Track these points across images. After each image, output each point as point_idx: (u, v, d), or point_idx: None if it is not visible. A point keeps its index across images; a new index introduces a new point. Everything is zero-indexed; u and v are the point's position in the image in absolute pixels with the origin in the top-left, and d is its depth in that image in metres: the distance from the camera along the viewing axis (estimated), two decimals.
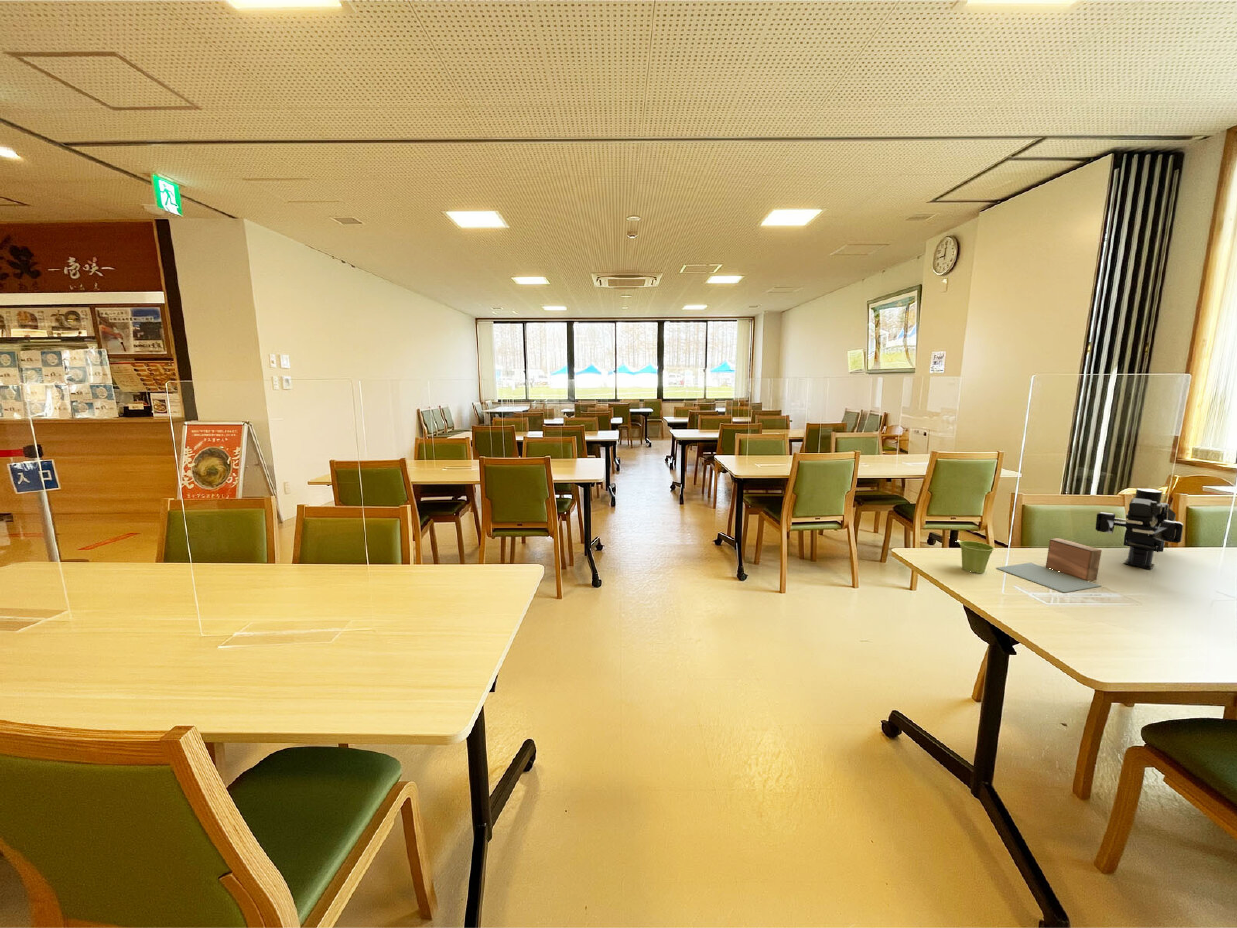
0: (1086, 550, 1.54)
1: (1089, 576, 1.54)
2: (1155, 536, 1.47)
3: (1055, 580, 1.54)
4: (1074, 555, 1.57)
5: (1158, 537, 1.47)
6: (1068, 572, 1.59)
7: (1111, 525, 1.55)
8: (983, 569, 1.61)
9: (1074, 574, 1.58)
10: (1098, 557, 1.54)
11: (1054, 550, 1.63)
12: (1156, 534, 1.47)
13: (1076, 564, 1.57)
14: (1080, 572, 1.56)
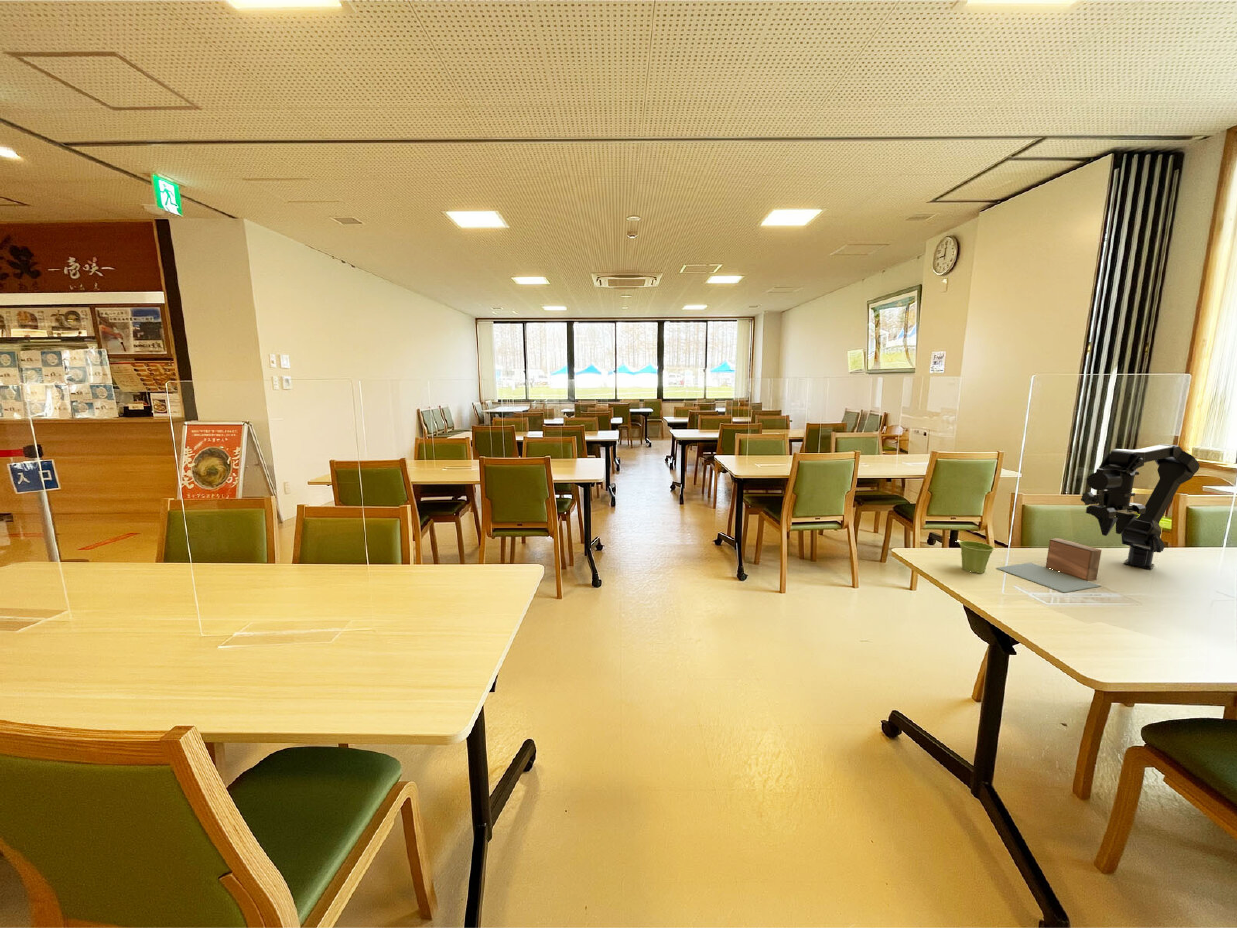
0: (1086, 550, 1.54)
1: (1089, 576, 1.54)
2: (1105, 534, 1.61)
3: (1055, 580, 1.54)
4: (1074, 555, 1.57)
5: (1107, 530, 1.60)
6: (1068, 572, 1.59)
7: None
8: (983, 569, 1.61)
9: (1074, 574, 1.58)
10: (1098, 557, 1.54)
11: (1054, 550, 1.63)
12: (1103, 532, 1.61)
13: (1076, 564, 1.57)
14: (1080, 572, 1.56)
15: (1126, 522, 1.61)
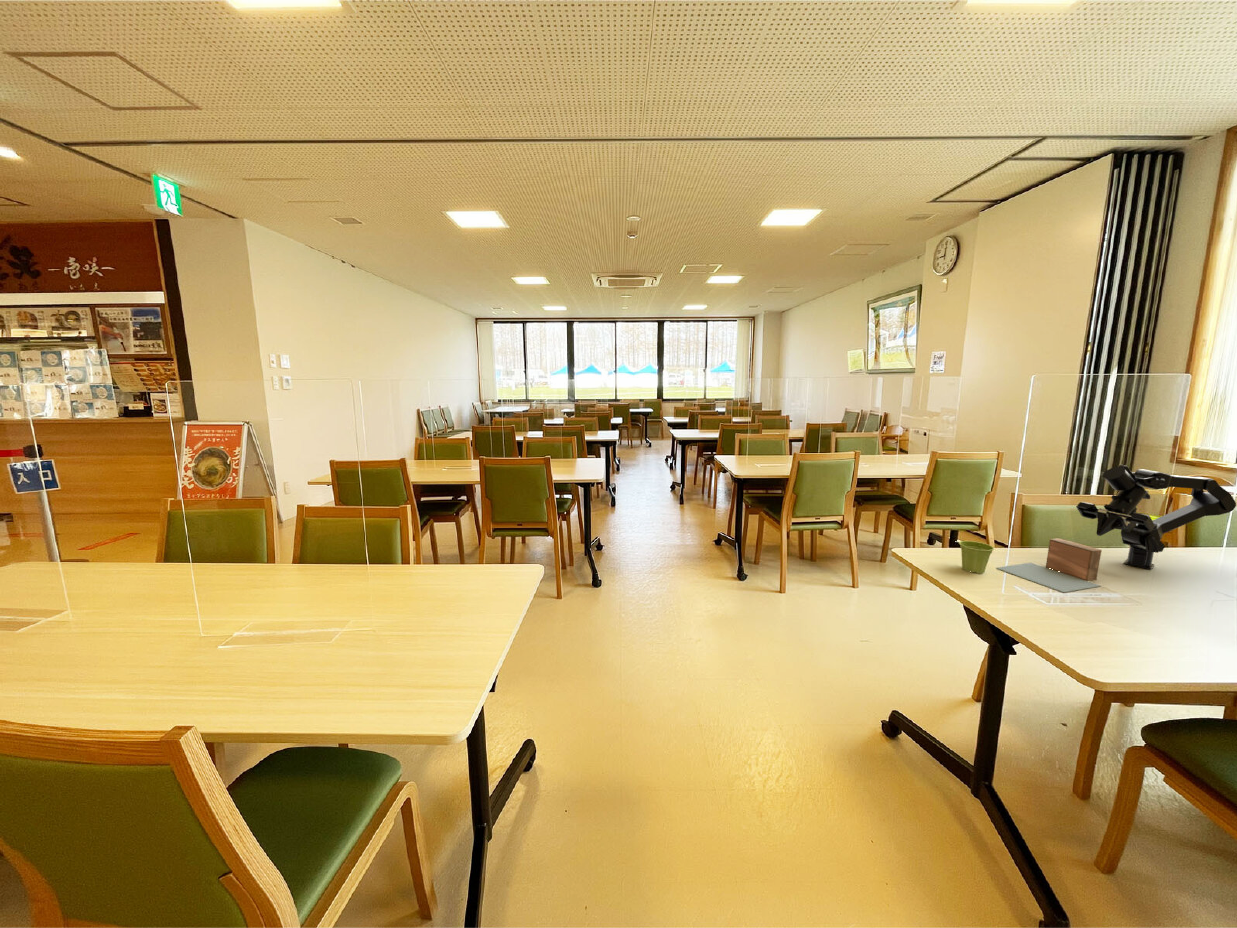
0: (1086, 550, 1.54)
1: (1089, 576, 1.54)
2: None
3: (1055, 580, 1.54)
4: (1074, 555, 1.57)
5: None
6: (1068, 572, 1.59)
7: None
8: (983, 569, 1.61)
9: (1074, 574, 1.58)
10: (1098, 557, 1.54)
11: (1054, 550, 1.63)
12: None
13: (1076, 564, 1.57)
14: (1080, 572, 1.56)
15: None
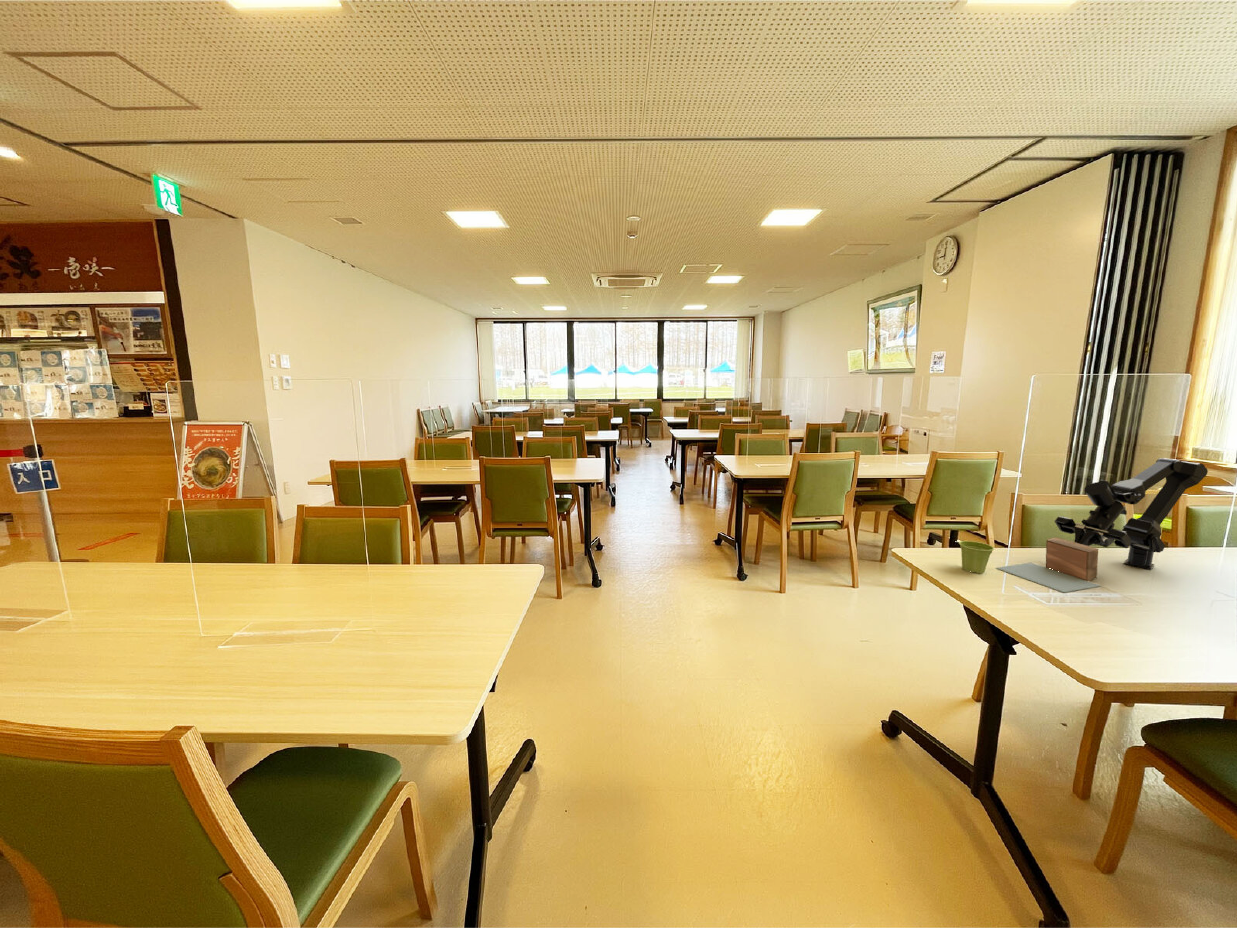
0: (1083, 551, 1.54)
1: (1088, 576, 1.54)
2: None
3: (1055, 580, 1.54)
4: (1071, 556, 1.57)
5: None
6: (1068, 572, 1.59)
7: None
8: (983, 569, 1.61)
9: (1074, 574, 1.58)
10: (1096, 556, 1.54)
11: (1052, 550, 1.62)
12: None
13: (1074, 564, 1.57)
14: (1079, 572, 1.56)
15: None
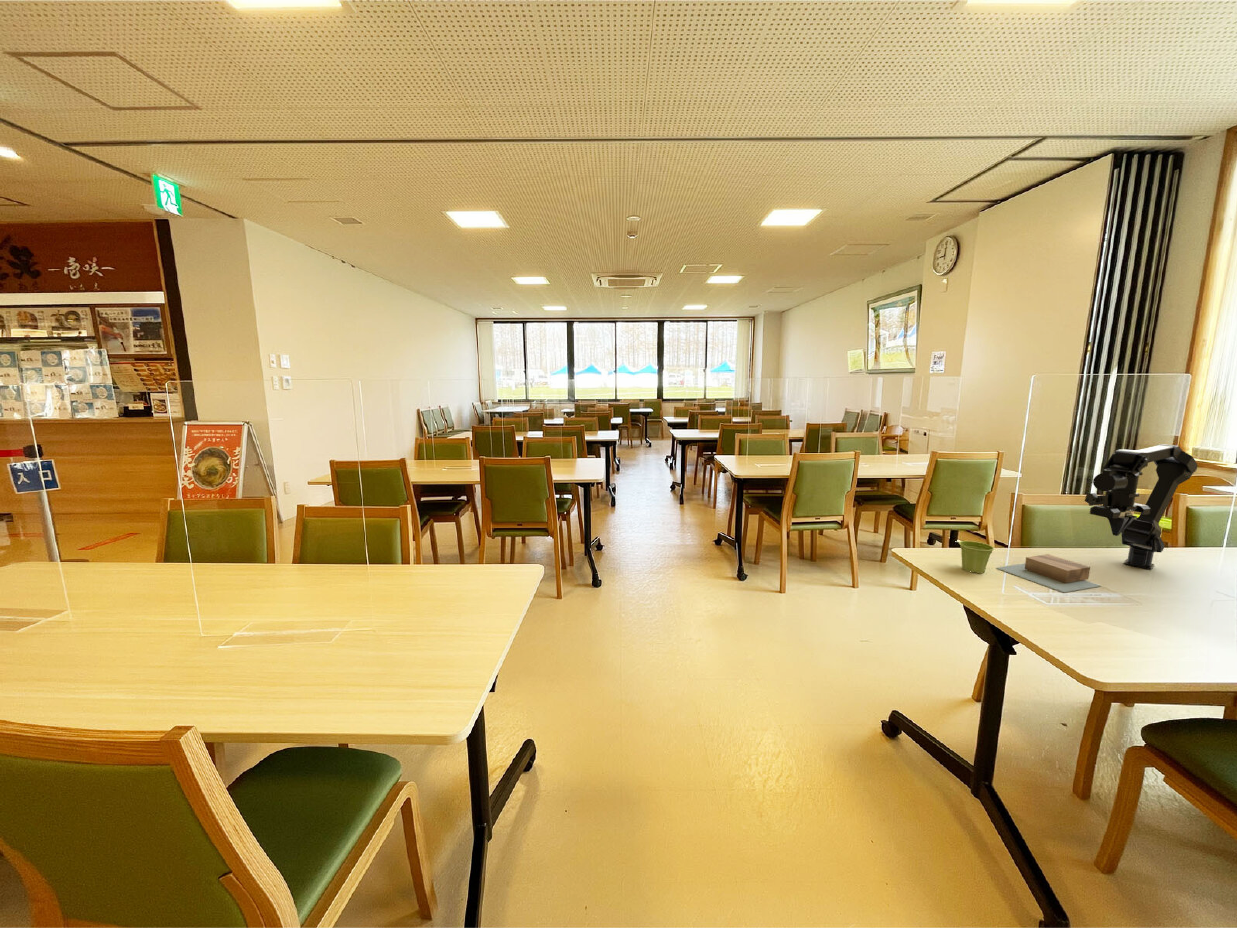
0: (1060, 580, 1.53)
1: (1084, 578, 1.54)
2: (1115, 534, 1.61)
3: (1055, 580, 1.54)
4: None
5: (1117, 530, 1.60)
6: None
7: None
8: (983, 569, 1.61)
9: None
10: (1072, 572, 1.52)
11: None
12: (1113, 532, 1.61)
13: None
14: None
15: None
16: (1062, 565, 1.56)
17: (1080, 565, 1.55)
